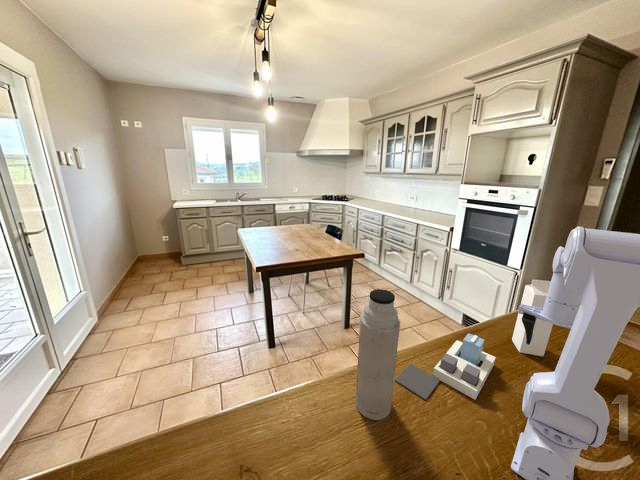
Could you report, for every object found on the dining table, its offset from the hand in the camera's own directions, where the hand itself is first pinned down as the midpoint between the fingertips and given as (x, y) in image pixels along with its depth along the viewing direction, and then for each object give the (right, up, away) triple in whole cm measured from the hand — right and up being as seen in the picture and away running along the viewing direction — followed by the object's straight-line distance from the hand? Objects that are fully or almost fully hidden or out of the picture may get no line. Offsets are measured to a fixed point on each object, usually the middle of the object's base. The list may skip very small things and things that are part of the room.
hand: (548, 350), depth 64 cm
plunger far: (-22, -7, +4) cm, 24 cm away
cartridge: (-14, -7, +9) cm, 18 cm away
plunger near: (-19, -8, +1) cm, 20 cm away
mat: (-31, -9, +3) cm, 32 cm away
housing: (-17, -8, +6) cm, 20 cm away
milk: (+7, -6, +15) cm, 17 cm away
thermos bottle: (-43, -11, -4) cm, 45 cm away
